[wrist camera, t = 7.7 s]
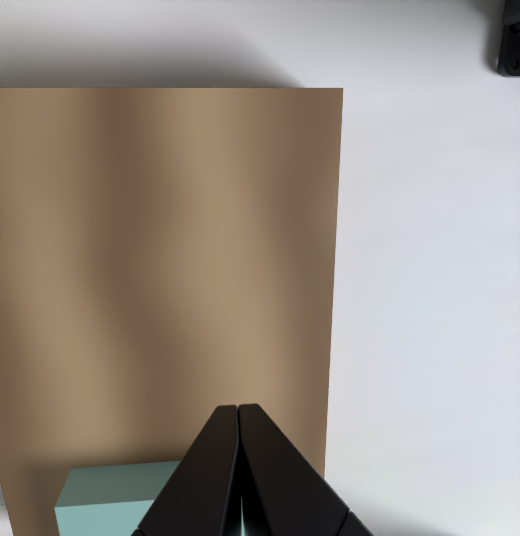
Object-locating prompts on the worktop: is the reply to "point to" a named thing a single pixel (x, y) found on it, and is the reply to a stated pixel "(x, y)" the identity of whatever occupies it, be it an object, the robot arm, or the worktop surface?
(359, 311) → the worktop surface
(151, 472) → the teal rectangular block
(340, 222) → the worktop surface
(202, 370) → the deck
